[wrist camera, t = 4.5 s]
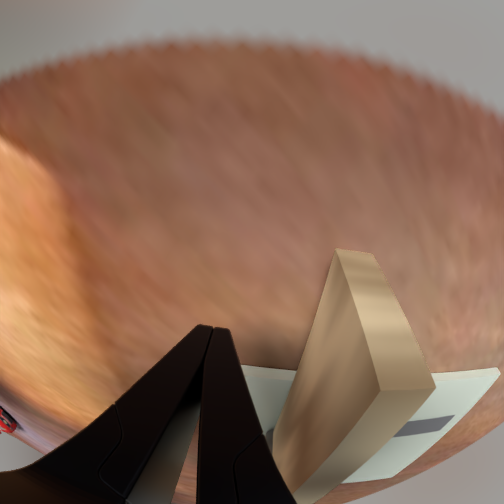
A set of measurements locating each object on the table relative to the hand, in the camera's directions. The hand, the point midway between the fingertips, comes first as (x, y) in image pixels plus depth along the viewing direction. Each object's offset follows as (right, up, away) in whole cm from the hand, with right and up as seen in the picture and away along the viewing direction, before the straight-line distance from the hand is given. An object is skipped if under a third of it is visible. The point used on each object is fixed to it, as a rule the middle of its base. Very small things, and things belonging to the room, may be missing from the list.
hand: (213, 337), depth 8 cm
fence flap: (+3, -3, +4) cm, 6 cm away
